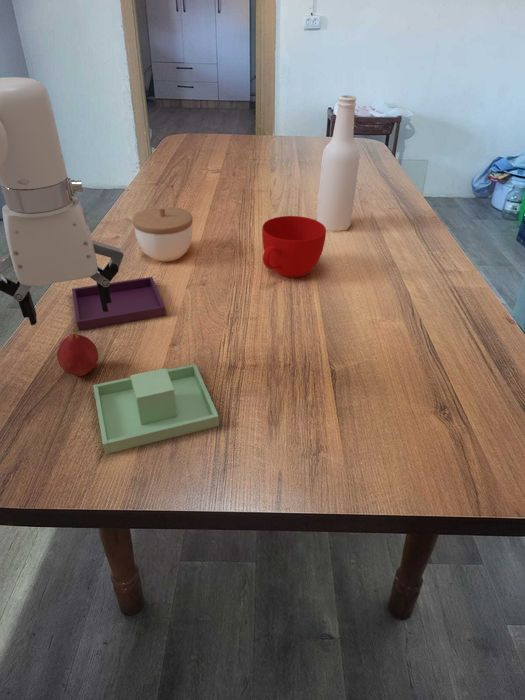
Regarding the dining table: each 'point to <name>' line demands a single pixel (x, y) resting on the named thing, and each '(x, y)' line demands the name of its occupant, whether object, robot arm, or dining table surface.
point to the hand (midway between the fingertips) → (70, 313)
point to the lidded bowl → (163, 232)
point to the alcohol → (339, 170)
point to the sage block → (154, 396)
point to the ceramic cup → (292, 245)
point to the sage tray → (127, 431)
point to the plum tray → (118, 303)
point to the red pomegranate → (77, 354)
